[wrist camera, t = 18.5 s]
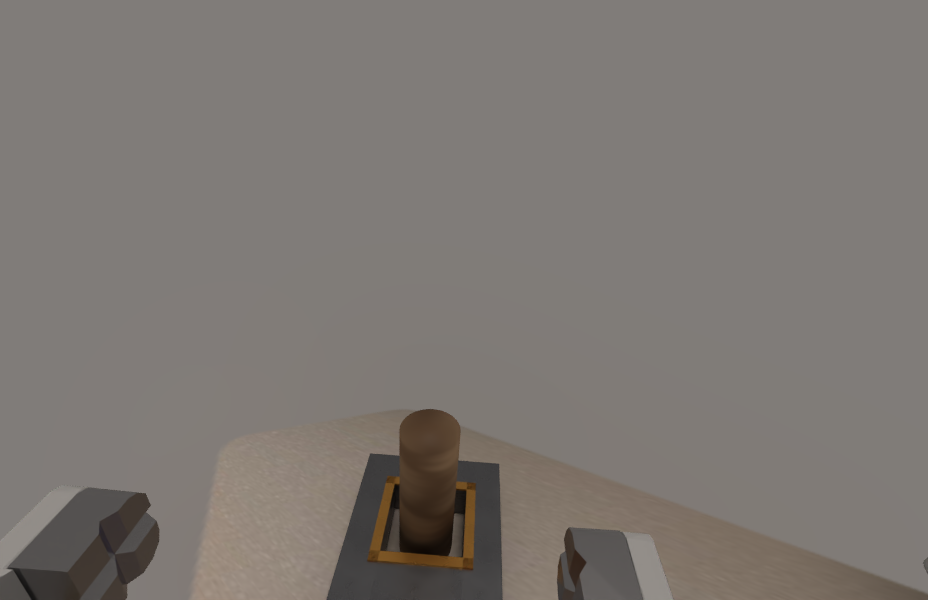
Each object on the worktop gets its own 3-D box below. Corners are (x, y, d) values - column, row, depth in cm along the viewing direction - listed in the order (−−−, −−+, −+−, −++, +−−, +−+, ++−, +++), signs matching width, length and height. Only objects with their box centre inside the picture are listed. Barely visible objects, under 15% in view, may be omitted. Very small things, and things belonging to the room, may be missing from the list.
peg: (443, 515, 44) (450, 405, 37) (457, 560, 40) (468, 446, 34) (395, 526, 42) (394, 414, 36) (405, 574, 38) (406, 457, 32)
